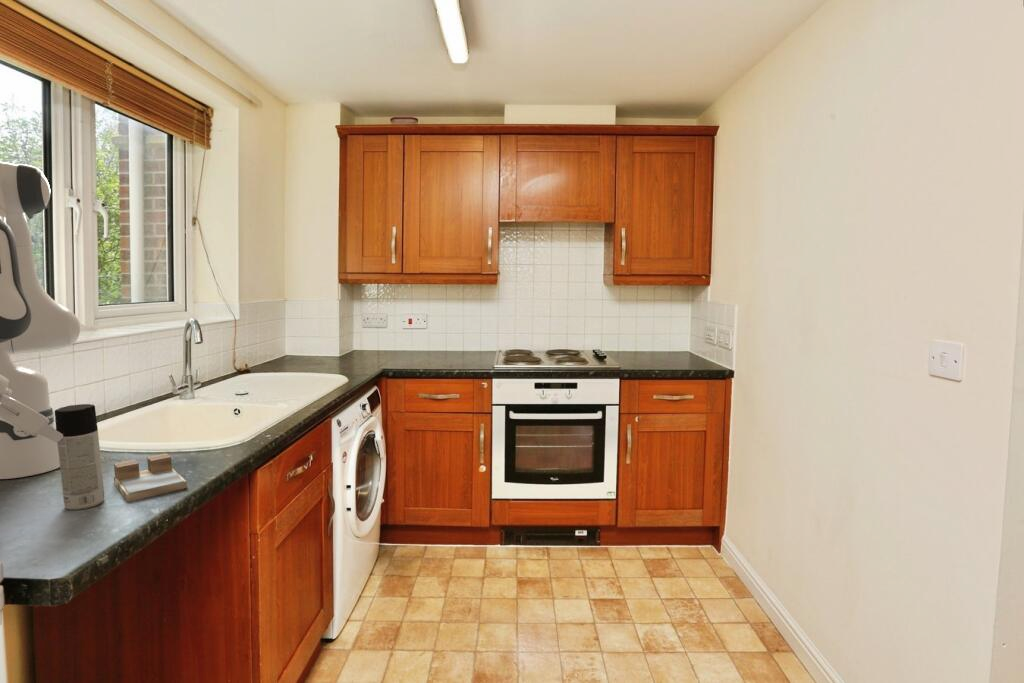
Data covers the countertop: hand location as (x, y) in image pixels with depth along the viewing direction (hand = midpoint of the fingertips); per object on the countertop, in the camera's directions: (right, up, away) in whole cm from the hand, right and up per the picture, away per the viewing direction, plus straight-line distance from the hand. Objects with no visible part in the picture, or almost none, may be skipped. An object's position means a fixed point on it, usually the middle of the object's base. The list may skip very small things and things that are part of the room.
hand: (51, 434), depth 114 cm
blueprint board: (+10, -14, +15) cm, 23 cm away
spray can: (+3, -15, +5) cm, 16 cm away
